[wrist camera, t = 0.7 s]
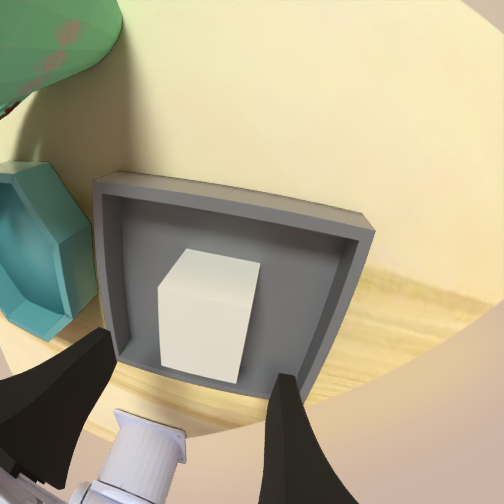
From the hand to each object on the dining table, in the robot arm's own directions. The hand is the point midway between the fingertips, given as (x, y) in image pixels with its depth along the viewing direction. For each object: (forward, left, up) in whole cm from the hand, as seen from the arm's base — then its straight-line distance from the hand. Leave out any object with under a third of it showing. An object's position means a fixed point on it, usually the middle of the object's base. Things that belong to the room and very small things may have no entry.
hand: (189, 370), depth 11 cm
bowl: (0, +15, -6) cm, 16 cm away
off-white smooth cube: (0, 0, -6) cm, 6 cm away
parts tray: (0, 0, -6) cm, 6 cm away
